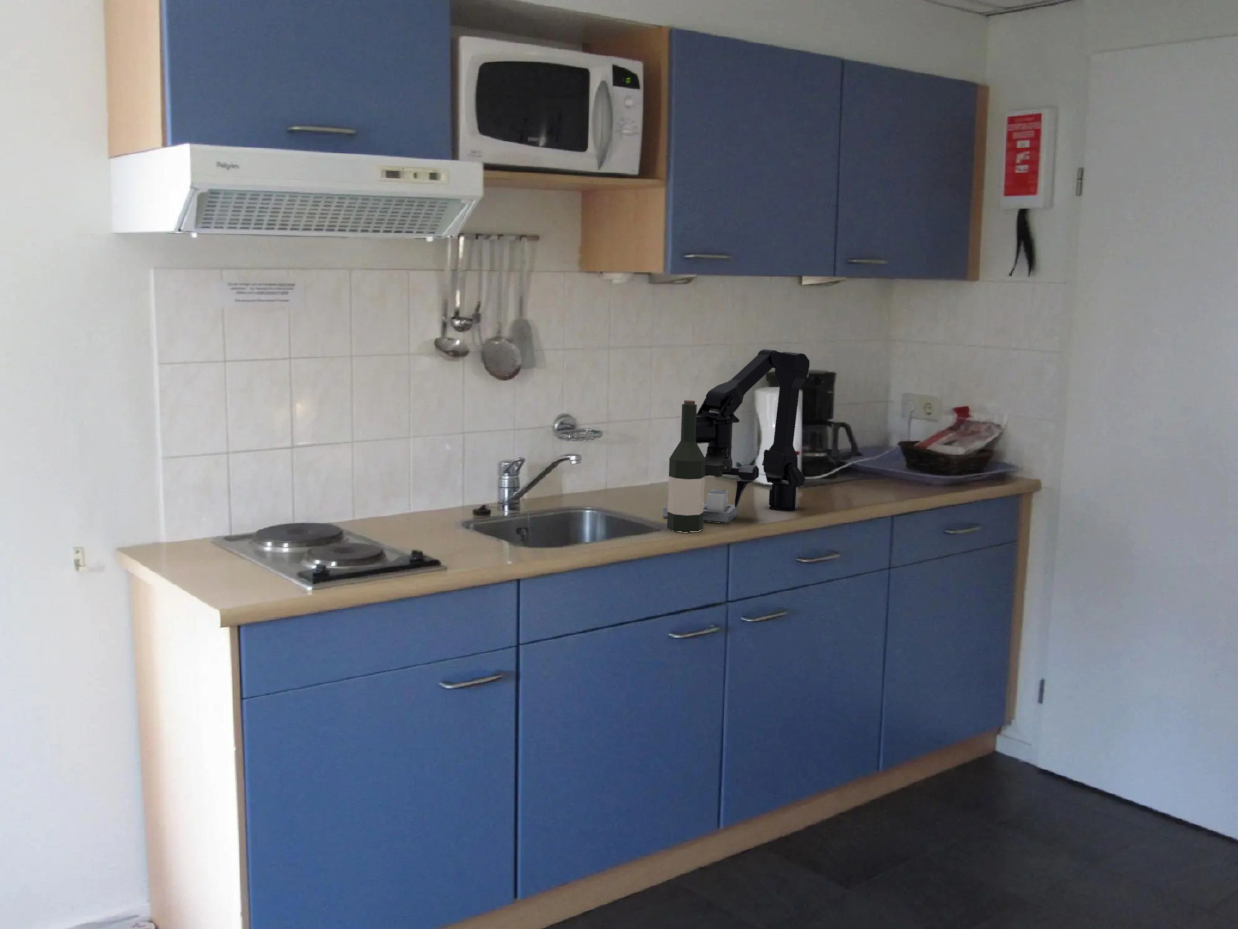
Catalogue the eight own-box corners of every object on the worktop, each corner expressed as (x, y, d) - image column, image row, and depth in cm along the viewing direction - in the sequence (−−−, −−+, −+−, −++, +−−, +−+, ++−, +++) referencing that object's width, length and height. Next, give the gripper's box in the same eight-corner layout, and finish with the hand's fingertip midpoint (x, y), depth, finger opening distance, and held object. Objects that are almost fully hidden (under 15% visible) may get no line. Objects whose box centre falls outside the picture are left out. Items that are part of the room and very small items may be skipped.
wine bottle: (687, 534, 277) (692, 403, 272) (659, 528, 282) (663, 400, 278) (710, 529, 283) (715, 401, 278) (682, 523, 289) (687, 397, 284)
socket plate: (737, 515, 300) (738, 502, 300) (727, 524, 290) (728, 510, 289) (675, 509, 305) (675, 497, 304) (663, 518, 295) (663, 505, 294)
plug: (727, 515, 298) (728, 489, 297) (722, 518, 293) (723, 493, 292) (711, 513, 299) (712, 488, 298) (706, 517, 294) (707, 491, 293)
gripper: (673, 443, 288) (671, 508, 291) (751, 449, 283) (748, 514, 285) (685, 437, 299) (683, 499, 301) (760, 442, 293) (757, 506, 296)
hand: (717, 505), depth 296 cm, fingers open, 9 cm apart
